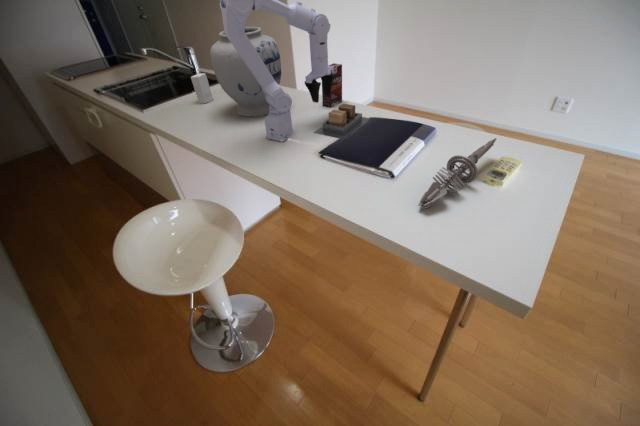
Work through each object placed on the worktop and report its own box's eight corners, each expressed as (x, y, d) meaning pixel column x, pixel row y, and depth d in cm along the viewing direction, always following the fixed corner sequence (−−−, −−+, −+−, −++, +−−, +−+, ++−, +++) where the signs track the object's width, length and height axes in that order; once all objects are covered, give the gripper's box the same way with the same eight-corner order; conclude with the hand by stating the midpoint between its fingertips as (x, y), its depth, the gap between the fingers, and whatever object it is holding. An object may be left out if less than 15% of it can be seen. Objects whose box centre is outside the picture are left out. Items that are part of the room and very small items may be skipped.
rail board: (345, 142, 97) (345, 132, 95) (313, 135, 103) (312, 125, 101) (370, 120, 109) (371, 111, 107) (340, 115, 115) (340, 106, 113)
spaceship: (517, 137, 76) (492, 120, 78) (443, 208, 61) (415, 184, 64) (497, 157, 83) (474, 140, 85) (427, 225, 68) (402, 202, 70)
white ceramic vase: (277, 122, 114) (263, 34, 95) (215, 121, 118) (190, 37, 99) (292, 99, 134) (283, 22, 115) (239, 99, 139) (221, 26, 119)
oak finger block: (341, 131, 101) (341, 115, 97) (329, 129, 103) (328, 112, 100) (346, 127, 104) (346, 111, 100) (335, 125, 106) (334, 109, 102)
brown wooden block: (350, 125, 105) (350, 109, 101) (338, 123, 107) (337, 107, 103) (355, 121, 107) (355, 105, 104) (343, 119, 110) (343, 103, 106)
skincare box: (206, 99, 142) (198, 72, 134) (214, 99, 141) (206, 73, 133) (198, 103, 138) (189, 76, 130) (206, 104, 136) (197, 76, 128)
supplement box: (331, 110, 120) (330, 69, 110) (322, 108, 123) (320, 68, 113) (343, 103, 125) (342, 64, 115) (333, 102, 128) (332, 62, 118)
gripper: (316, 63, 89) (319, 106, 98) (340, 53, 98) (341, 94, 107) (298, 61, 93) (302, 103, 101) (323, 51, 102) (325, 91, 110)
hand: (321, 98), depth 104 cm, fingers open, 7 cm apart
